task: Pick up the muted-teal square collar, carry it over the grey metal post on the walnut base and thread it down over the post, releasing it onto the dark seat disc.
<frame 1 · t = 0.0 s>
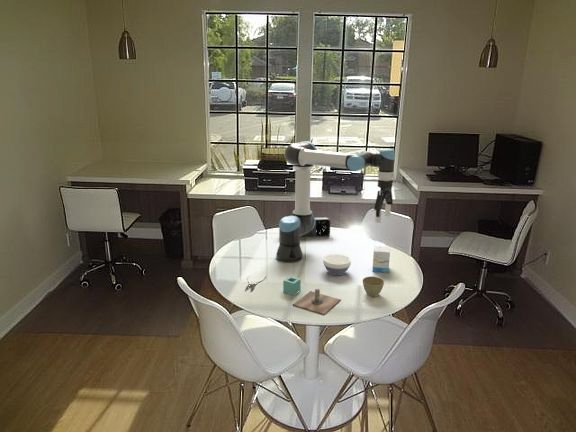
hand: (382, 219, 236), 28 cm above the table, fingers open, 13 cm apart
ink box: (380, 269, 243), on the table
bowl: (336, 272, 239), on the table
post block: (317, 303, 205), on the table
flower pot: (372, 294, 214), on the table
graphics card: (304, 236, 295), on the table
pliers: (255, 284, 226), on the table
collar: (291, 291, 217), on the table
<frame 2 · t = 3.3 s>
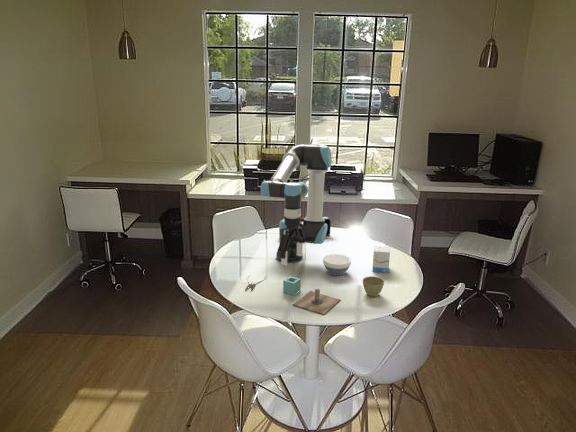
hand: (292, 260, 212), 16 cm above the table, fingers open, 13 cm apart
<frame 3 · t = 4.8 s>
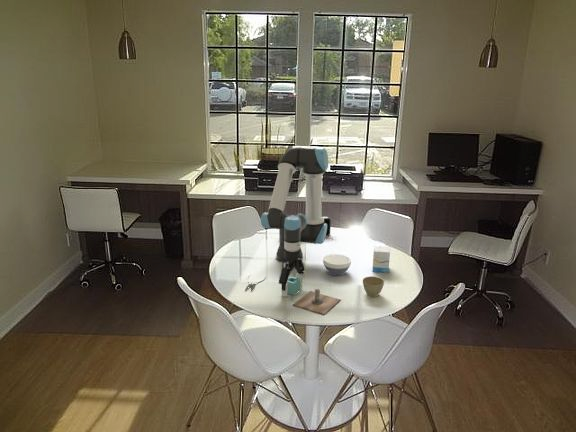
hand: (291, 290, 217), 0 cm above the table, fingers open, 12 cm apart
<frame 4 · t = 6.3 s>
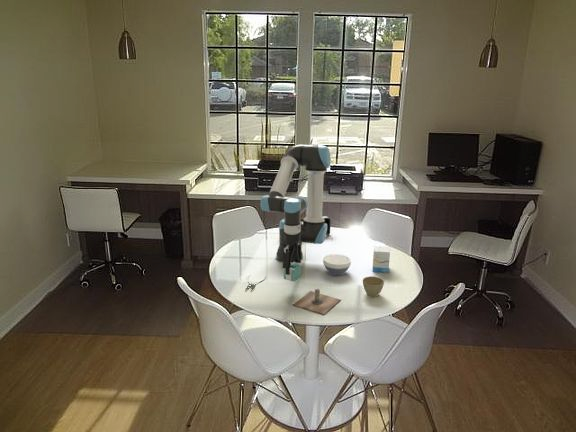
hand: (292, 277, 215), 7 cm above the table, fingers closed on collar, 6 cm apart
collar: (292, 278, 215), point 7 cm above the table, touching gripper
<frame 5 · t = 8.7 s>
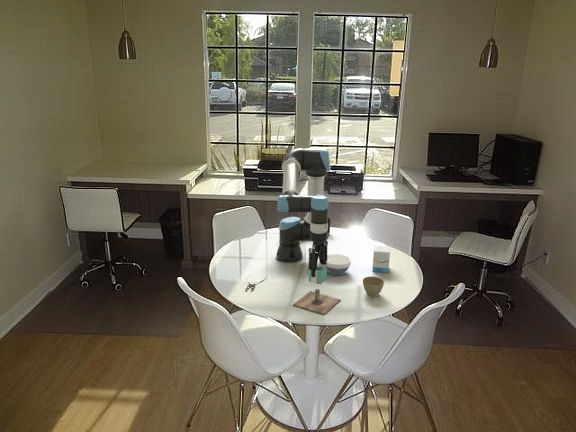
hand: (317, 280, 202), 11 cm above the table, fingers closed on collar, 6 cm apart
collar: (317, 280, 202), point 11 cm above the table, touching gripper
when the fingers open (2 cm above the table, at t = 11.0 s): collar stays where it is, resting on post block.
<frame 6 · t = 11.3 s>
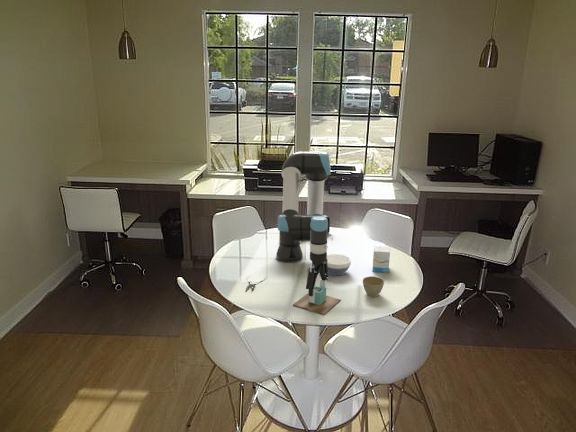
hand: (317, 297, 205), 3 cm above the table, fingers open, 9 cm apart
collar: (317, 301, 205), point 1 cm above the table, touching post block
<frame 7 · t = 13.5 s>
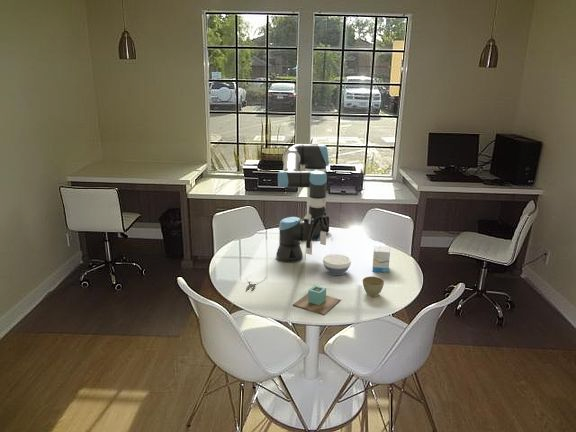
hand: (316, 249, 210), 22 cm above the table, fingers open, 13 cm apart
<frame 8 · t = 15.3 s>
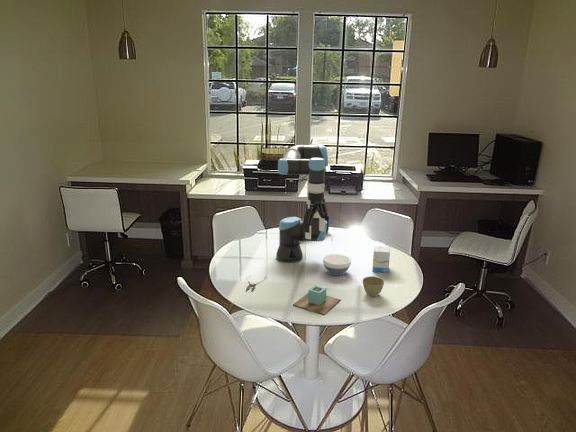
hand: (315, 234, 215), 27 cm above the table, fingers open, 13 cm apart
at the end: collar 0.1 cm off-centre on the post block, point 0.9 cm above the post block's base; collar tilted 0°; the gripper is holding nothing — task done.
